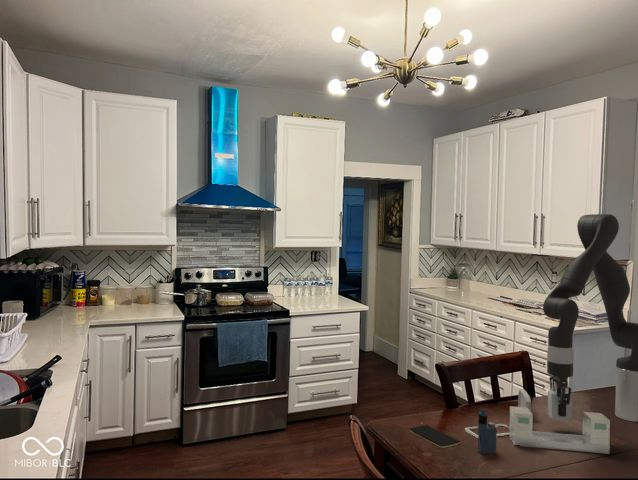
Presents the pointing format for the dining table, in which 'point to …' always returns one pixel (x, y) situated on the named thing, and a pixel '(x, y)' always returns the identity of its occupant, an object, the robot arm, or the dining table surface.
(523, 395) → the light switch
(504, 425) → the white rectangular frame
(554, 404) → the grey module
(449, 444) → the smartphone
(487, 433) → the vaping device
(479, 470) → the dining table surface
